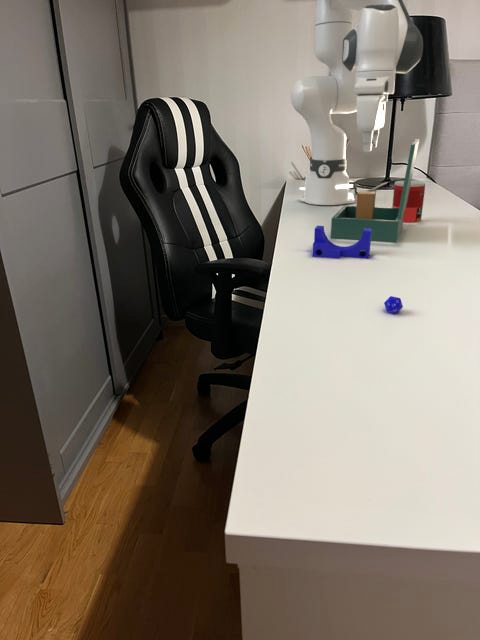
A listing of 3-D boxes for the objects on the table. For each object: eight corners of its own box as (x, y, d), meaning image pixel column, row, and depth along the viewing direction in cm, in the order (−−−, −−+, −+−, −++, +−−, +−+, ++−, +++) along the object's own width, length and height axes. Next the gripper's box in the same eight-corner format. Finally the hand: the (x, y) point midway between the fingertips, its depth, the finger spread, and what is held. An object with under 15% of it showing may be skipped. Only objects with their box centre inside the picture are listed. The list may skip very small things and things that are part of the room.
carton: (357, 230, 130) (359, 190, 126) (372, 231, 128) (376, 191, 125) (354, 233, 126) (357, 193, 122) (370, 234, 125) (373, 194, 121)
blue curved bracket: (312, 256, 111) (313, 230, 109) (316, 251, 115) (317, 225, 113) (367, 260, 108) (369, 233, 105) (369, 254, 111) (371, 228, 109)
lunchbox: (330, 241, 123) (331, 218, 121) (342, 226, 137) (344, 205, 135) (396, 245, 118) (398, 221, 115) (402, 230, 132) (404, 208, 130)
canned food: (422, 225, 136) (427, 184, 131) (391, 225, 137) (395, 184, 133) (419, 219, 143) (423, 180, 138) (390, 219, 144) (393, 180, 140)
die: (405, 314, 80) (402, 303, 78) (389, 319, 81) (385, 308, 79) (401, 301, 82) (397, 290, 80) (385, 306, 83) (381, 295, 81)
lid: (411, 144, 108) (415, 144, 108) (415, 139, 123) (419, 139, 122) (397, 219, 115) (400, 219, 115) (402, 206, 129) (406, 206, 129)
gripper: (366, 87, 124) (363, 146, 129) (353, 85, 107) (349, 153, 112) (393, 86, 122) (388, 146, 127) (383, 84, 104) (378, 153, 110)
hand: (369, 149), depth 119 cm, fingers open, 8 cm apart
